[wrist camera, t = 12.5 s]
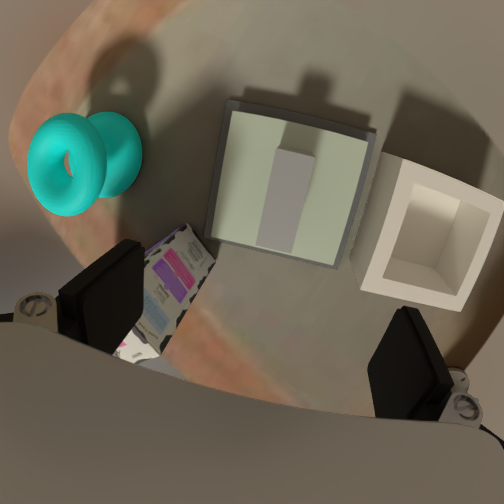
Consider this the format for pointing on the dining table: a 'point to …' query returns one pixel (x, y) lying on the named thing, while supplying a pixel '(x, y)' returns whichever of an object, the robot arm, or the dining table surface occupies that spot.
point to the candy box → (166, 292)
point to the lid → (286, 186)
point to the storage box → (423, 235)
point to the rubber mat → (299, 119)
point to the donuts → (83, 160)
